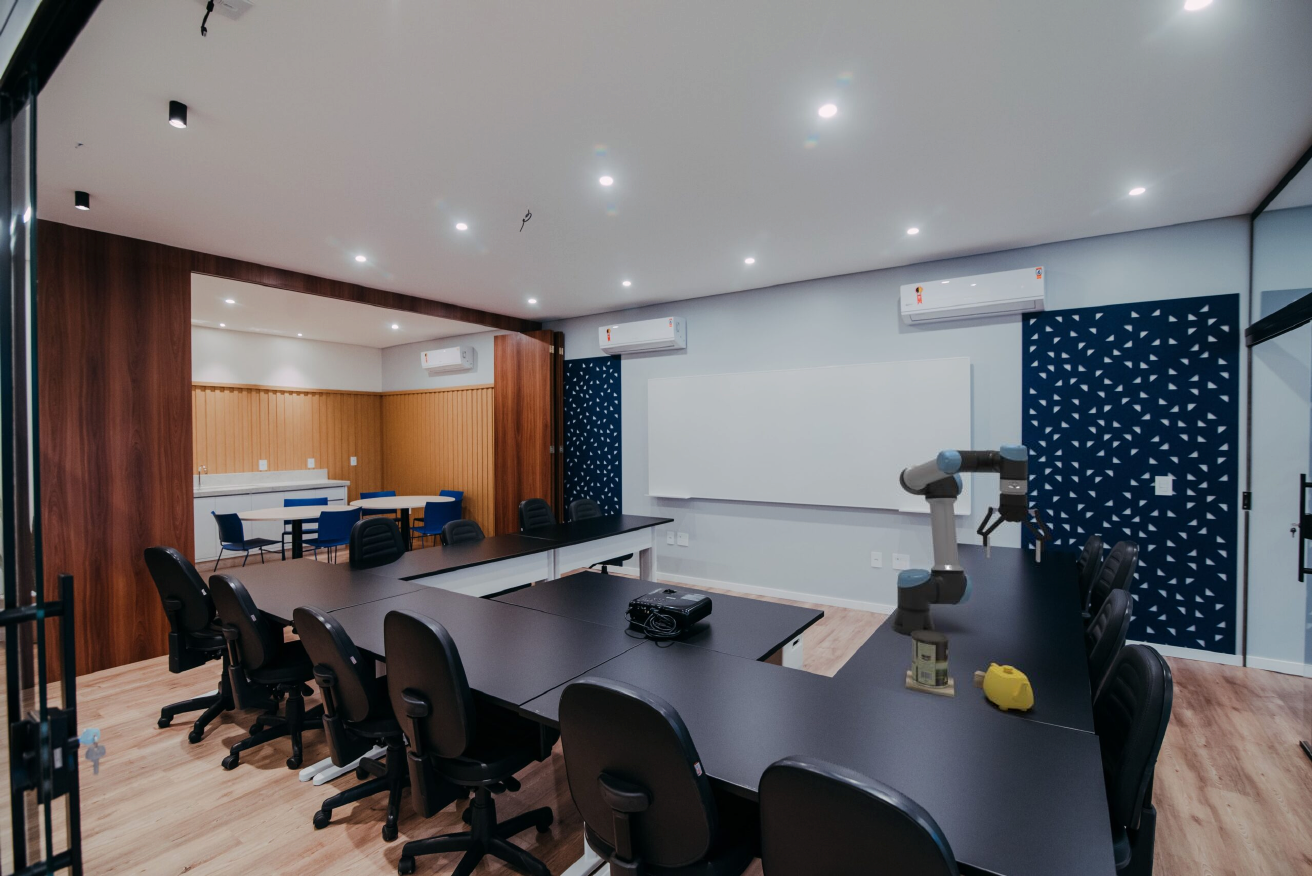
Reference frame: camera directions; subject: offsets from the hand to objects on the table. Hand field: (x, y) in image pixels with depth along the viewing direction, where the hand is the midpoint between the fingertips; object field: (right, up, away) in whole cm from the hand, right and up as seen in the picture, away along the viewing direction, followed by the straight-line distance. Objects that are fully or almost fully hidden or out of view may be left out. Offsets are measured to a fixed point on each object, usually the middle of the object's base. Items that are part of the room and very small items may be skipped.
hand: (1012, 559), depth 182 cm
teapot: (-15, -37, -22) cm, 46 cm away
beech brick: (-15, -37, -11) cm, 41 cm away
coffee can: (-31, -36, -9) cm, 48 cm away
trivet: (-31, -36, -9) cm, 49 cm away
